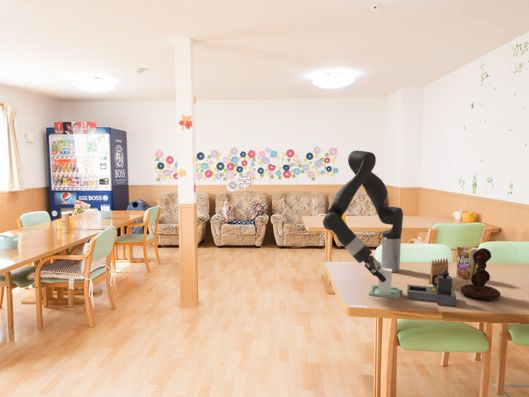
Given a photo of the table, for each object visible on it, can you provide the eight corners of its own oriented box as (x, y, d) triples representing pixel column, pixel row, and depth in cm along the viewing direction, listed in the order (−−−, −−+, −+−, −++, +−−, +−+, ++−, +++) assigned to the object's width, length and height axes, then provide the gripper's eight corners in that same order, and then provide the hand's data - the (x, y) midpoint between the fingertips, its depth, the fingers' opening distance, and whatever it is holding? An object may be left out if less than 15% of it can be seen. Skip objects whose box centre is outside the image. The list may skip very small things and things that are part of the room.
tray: (371, 289, 177) (371, 284, 177) (399, 292, 174) (399, 287, 173) (369, 297, 166) (369, 293, 166) (399, 301, 162) (399, 296, 162)
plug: (378, 290, 172) (379, 267, 172) (391, 291, 171) (391, 268, 170) (378, 293, 169) (379, 270, 168) (390, 294, 167) (391, 271, 166)
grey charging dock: (407, 293, 172) (408, 263, 170) (453, 298, 166) (454, 267, 165) (407, 301, 162) (408, 269, 161) (456, 306, 156) (457, 273, 155)
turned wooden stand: (465, 288, 179) (467, 244, 177) (503, 295, 170) (505, 249, 168) (456, 296, 168) (458, 250, 166) (496, 304, 158) (499, 255, 157)
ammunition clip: (432, 286, 182) (433, 260, 181) (428, 285, 184) (429, 259, 182) (448, 283, 186) (450, 258, 185) (445, 282, 188) (446, 257, 187)
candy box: (455, 276, 197) (456, 246, 196) (462, 276, 199) (463, 245, 197) (469, 281, 189) (470, 250, 188) (476, 281, 190) (478, 249, 189)
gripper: (363, 247, 164) (391, 277, 161) (366, 240, 178) (392, 268, 175) (349, 258, 166) (377, 288, 164) (353, 251, 180) (379, 279, 177)
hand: (385, 278), depth 169 cm, fingers open, 8 cm apart
